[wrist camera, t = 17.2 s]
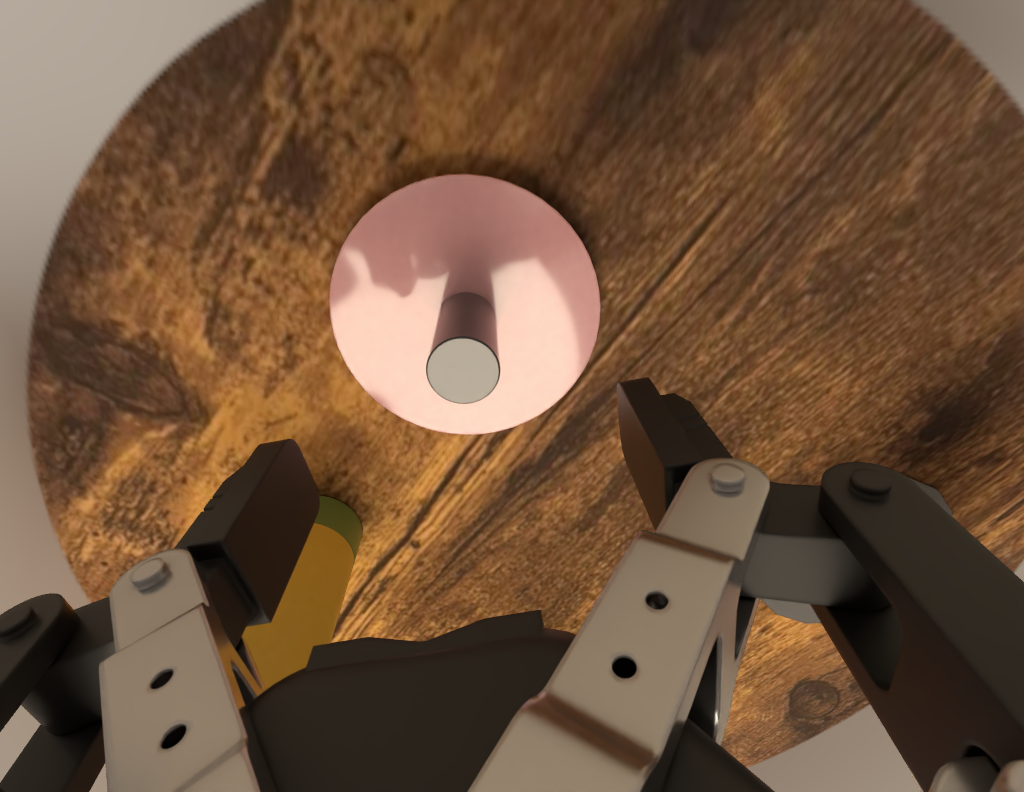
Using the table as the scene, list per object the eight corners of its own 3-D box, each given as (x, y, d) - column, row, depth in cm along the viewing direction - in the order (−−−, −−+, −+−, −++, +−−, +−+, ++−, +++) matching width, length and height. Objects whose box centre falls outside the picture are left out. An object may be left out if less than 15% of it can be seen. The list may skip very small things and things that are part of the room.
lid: (333, 405, 24) (288, 488, 18) (339, 145, 19) (281, 152, 13) (563, 435, 25) (586, 520, 20) (625, 200, 20) (679, 226, 15)
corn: (277, 554, 28) (63, 1001, 13) (275, 490, 26) (21, 933, 12) (360, 562, 28) (238, 998, 14) (364, 499, 26) (227, 932, 12)
